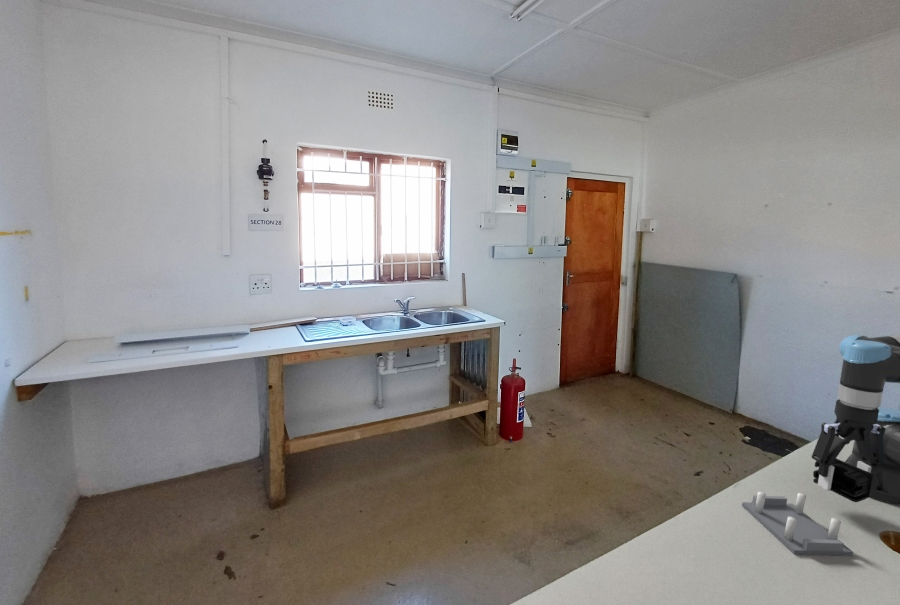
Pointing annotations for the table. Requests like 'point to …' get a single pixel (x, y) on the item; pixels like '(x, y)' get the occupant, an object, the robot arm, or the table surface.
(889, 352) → the robot arm
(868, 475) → the end cap
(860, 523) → the table surface
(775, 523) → the tray
